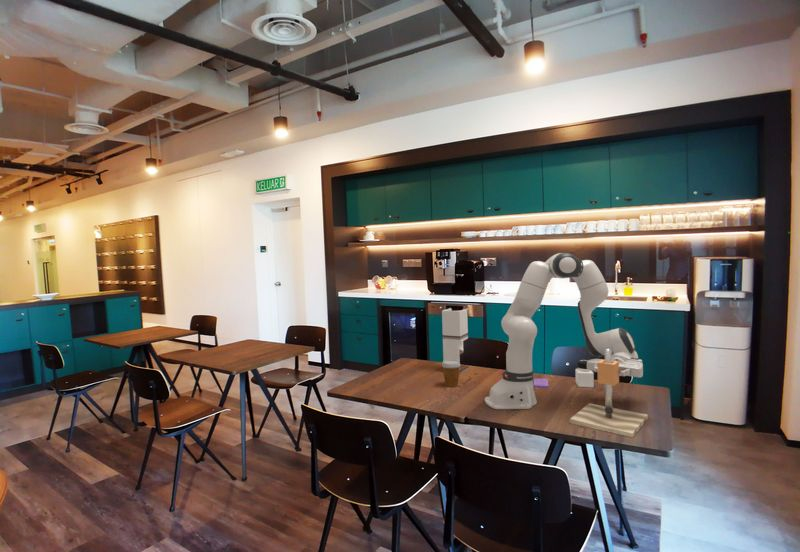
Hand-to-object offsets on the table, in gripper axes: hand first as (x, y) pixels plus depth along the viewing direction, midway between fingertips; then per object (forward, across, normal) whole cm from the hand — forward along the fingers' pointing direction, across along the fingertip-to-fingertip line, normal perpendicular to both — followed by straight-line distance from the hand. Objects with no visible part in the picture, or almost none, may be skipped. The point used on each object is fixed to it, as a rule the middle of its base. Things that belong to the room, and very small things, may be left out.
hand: (608, 372), depth 166 cm
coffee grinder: (-26, -89, +19) cm, 95 cm away
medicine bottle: (-39, -22, +19) cm, 49 cm away
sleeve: (+1, 0, +4) cm, 4 cm away
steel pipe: (+1, 0, +17) cm, 17 cm away
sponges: (-28, -40, +20) cm, 53 cm away
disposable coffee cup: (-1, -75, +19) cm, 78 cm away
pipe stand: (+1, 0, +19) cm, 19 cm away
